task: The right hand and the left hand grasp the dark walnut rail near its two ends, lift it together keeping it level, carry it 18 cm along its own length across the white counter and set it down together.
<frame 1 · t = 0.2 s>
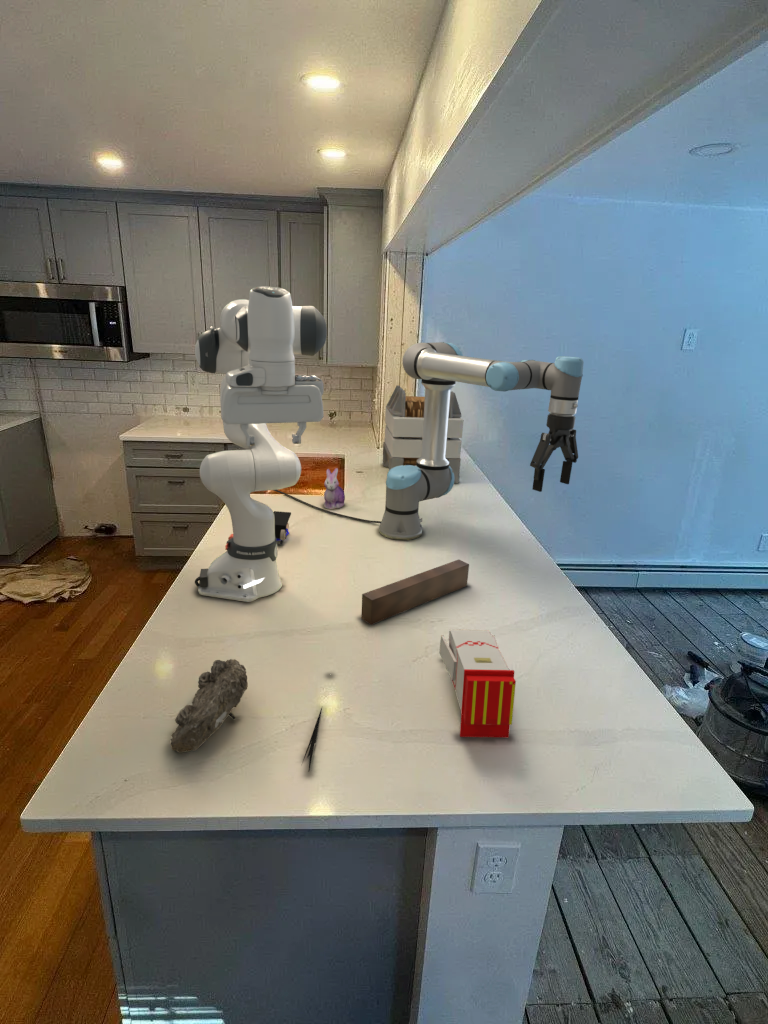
left hand: (273, 444, 116), 48 cm above the counter, fingers open, 8 cm apart
right hand: (551, 486, 165), 28 cm above the counter, fingers open, 13 cm apart
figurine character: (279, 538, 191), on the counter
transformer: (418, 473, 275), on the counter
figurine: (334, 505, 225), on the counter
toy: (471, 691, 119), on the counter
walnut rail: (417, 601, 154), on the counter
fossil: (215, 716, 108), on the counter
feather: (319, 719, 109), on the counter
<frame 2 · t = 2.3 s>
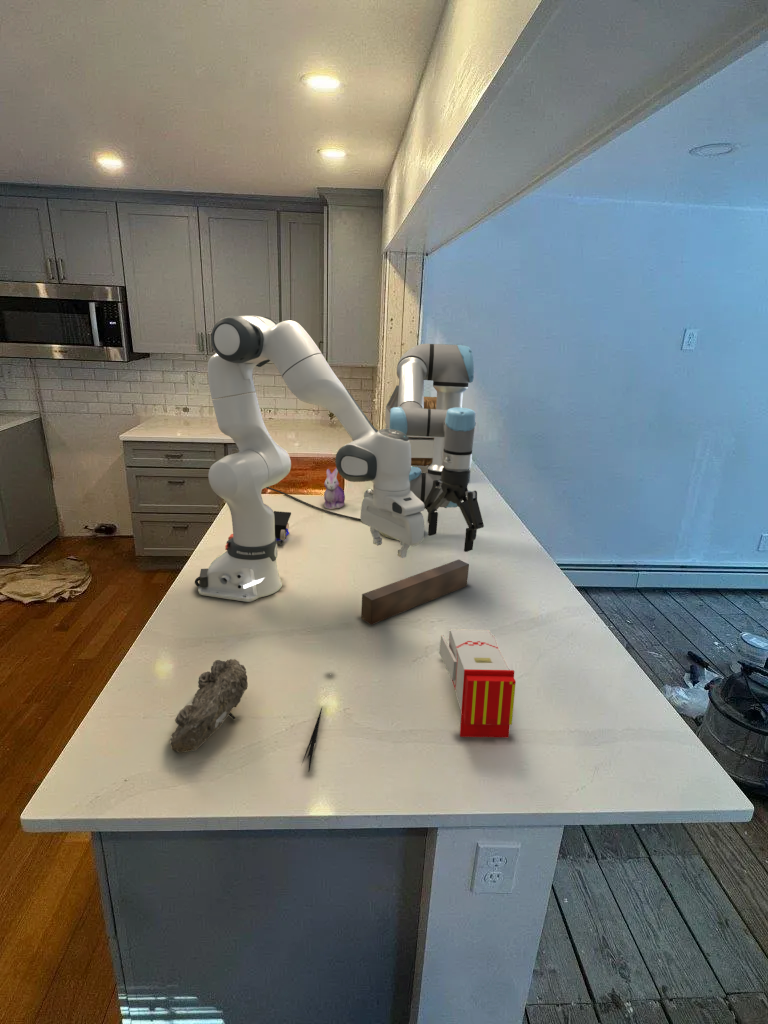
left hand: (389, 550, 141), 18 cm above the counter, fingers open, 8 cm apart
right hand: (449, 542, 156), 15 cm above the counter, fingers open, 13 cm apart
nothing on the counter moved.
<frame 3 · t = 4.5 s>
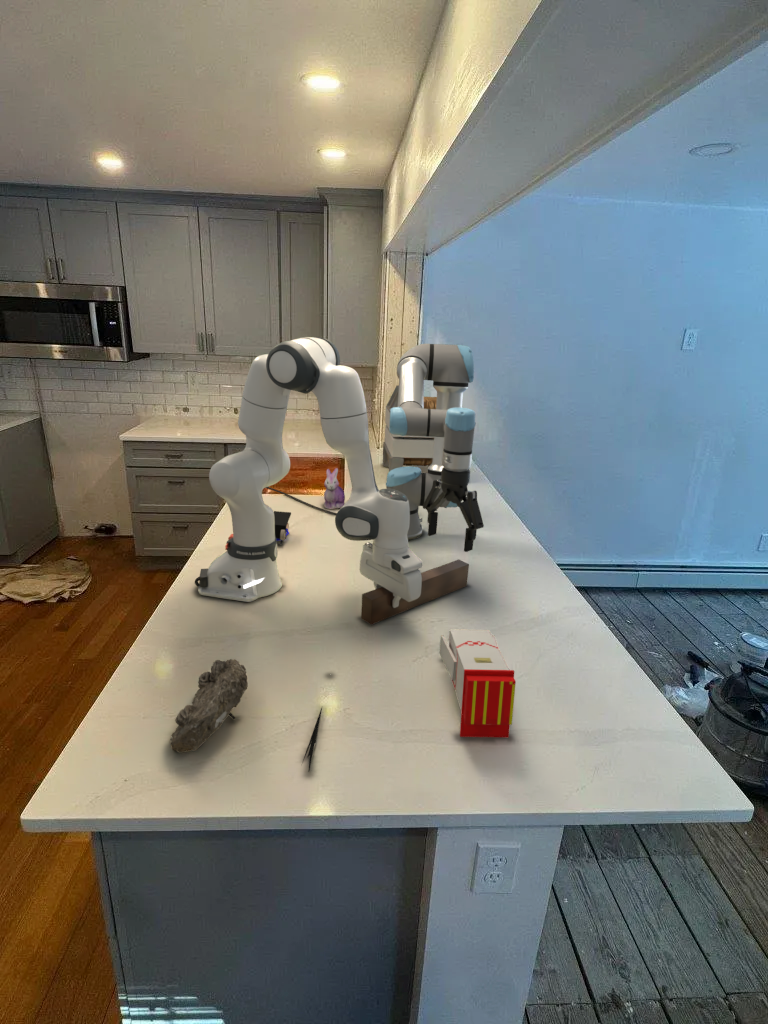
left hand: (387, 602, 146), 3 cm above the counter, fingers closed on walnut rail, 4 cm apart
right hand: (449, 542, 156), 15 cm above the counter, fingers open, 13 cm apart
walnut rail: (417, 601, 154), on the counter, touching left hand
everything else where it was.
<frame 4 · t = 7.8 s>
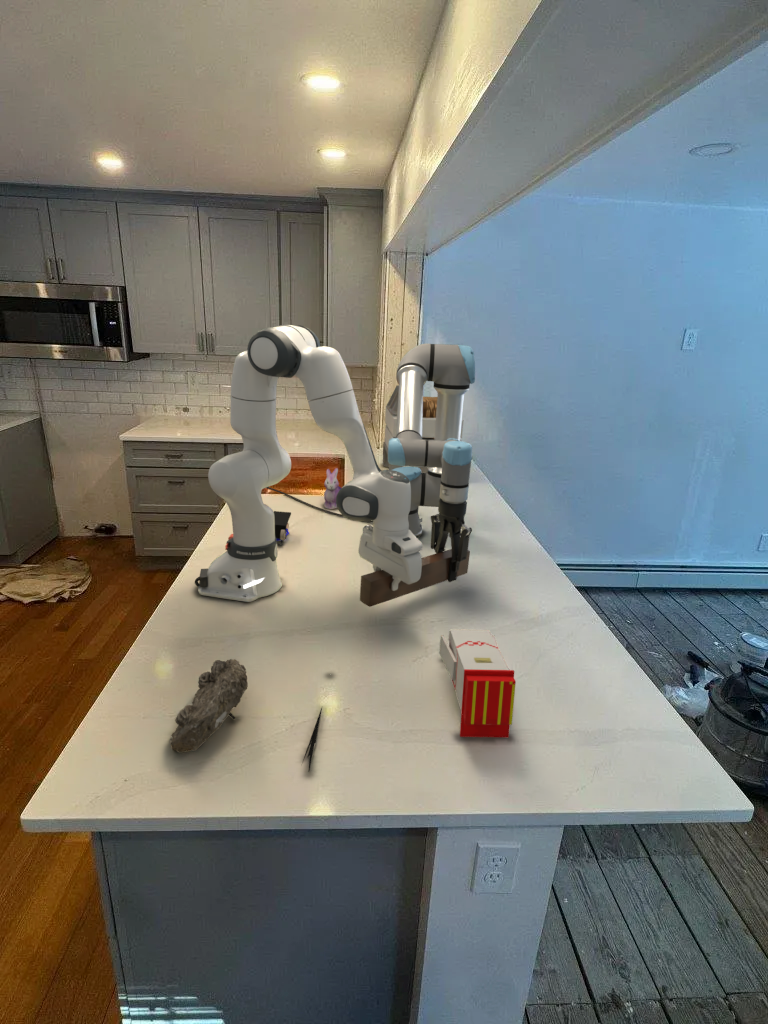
left hand: (386, 585, 145), 8 cm above the counter, fingers closed on walnut rail, 4 cm apart
right hand: (445, 577, 160), 4 cm above the counter, fingers closed on walnut rail, 4 cm apart
walnut rail: (416, 586, 153), point 4 cm above the counter, touching right hand, left hand
everything else where it was.
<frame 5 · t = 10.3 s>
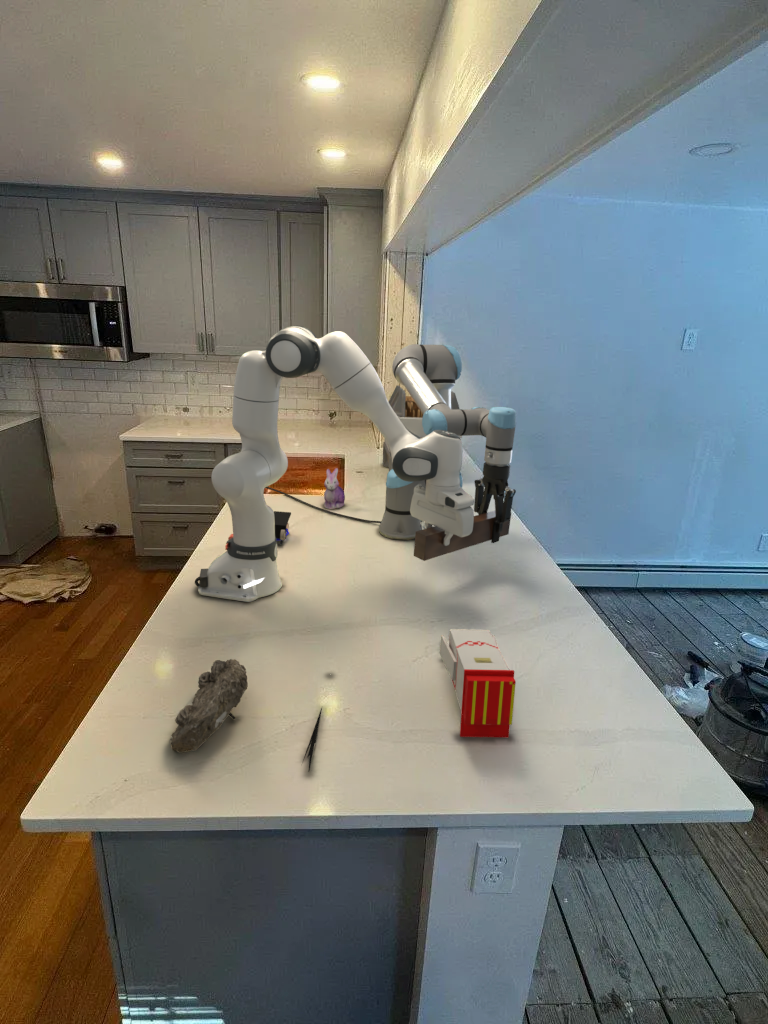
left hand: (438, 541, 153), 16 cm above the counter, fingers closed on walnut rail, 4 cm apart
right hand: (488, 539, 168), 12 cm above the counter, fingers closed on walnut rail, 4 cm apart
walnut rail: (463, 544, 161), point 13 cm above the counter, touching right hand, left hand
everything else where it was.
when the right hand's fingers open (0 cm above the counter, at t = 13.0 s): walnut rail stays where it is, on the counter.
when the left hand's fingers open (4 cm above the counter, at t = 13.1 s): walnut rail stays where it is, on the counter.
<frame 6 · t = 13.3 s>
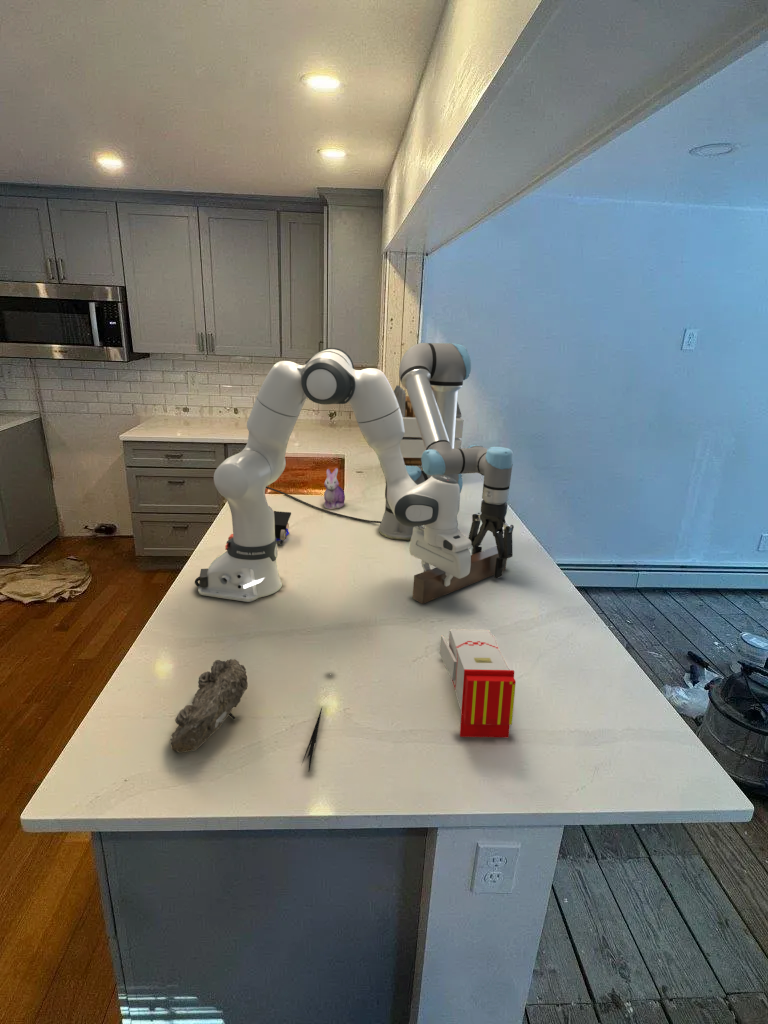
left hand: (436, 580, 157), 4 cm above the counter, fingers open, 6 cm apart
right hand: (486, 571, 172), 1 cm above the counter, fingers open, 8 cm apart
walnut rail: (461, 583, 166), on the counter
everything else where it was.
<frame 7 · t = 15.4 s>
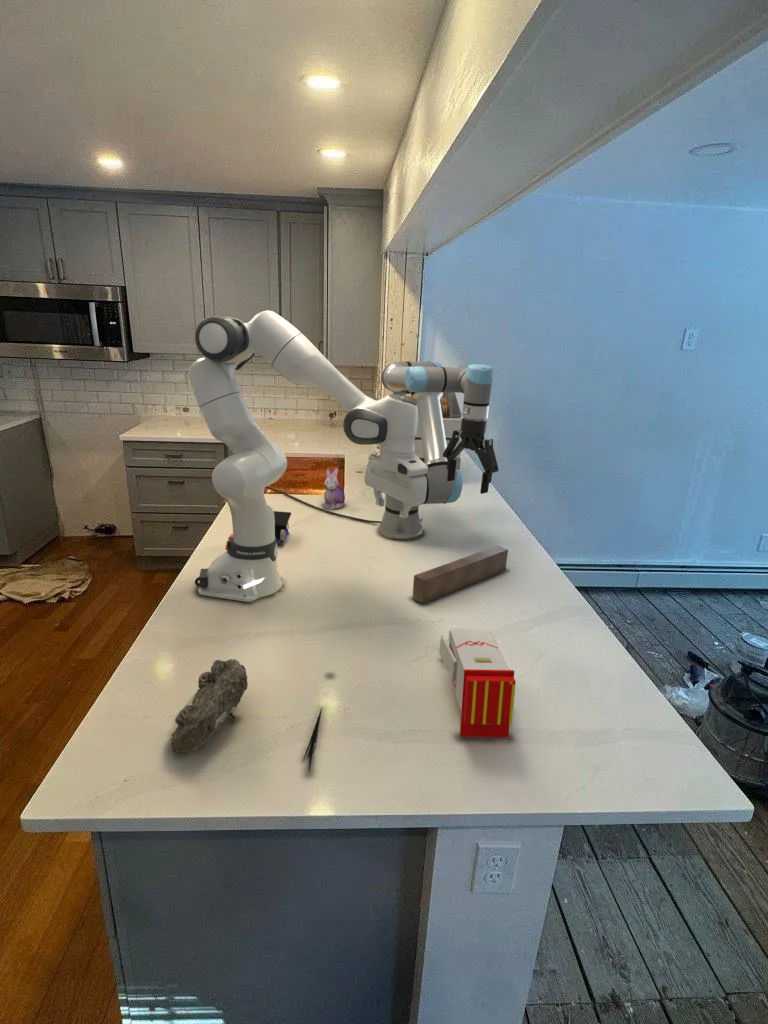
left hand: (391, 511, 148), 25 cm above the counter, fingers open, 8 cm apart
right hand: (466, 486, 176), 24 cm above the counter, fingers open, 13 cm apart
nothing on the counter moved.
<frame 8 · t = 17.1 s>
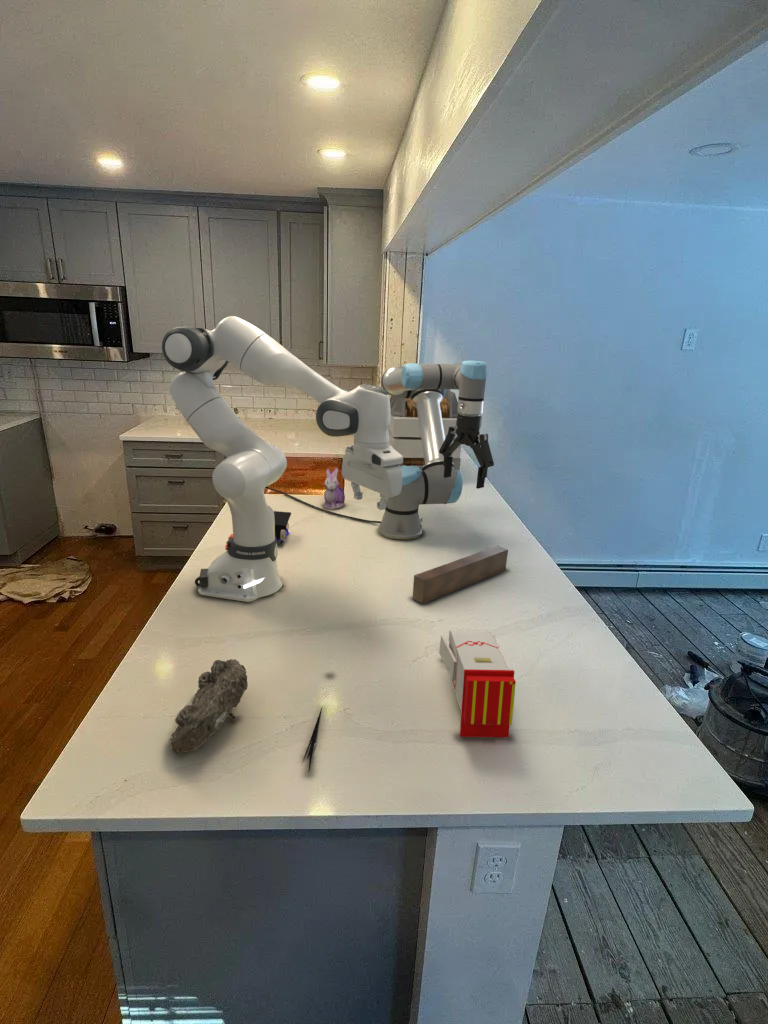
left hand: (369, 503, 146), 27 cm above the counter, fingers open, 8 cm apart
right hand: (463, 482, 177), 25 cm above the counter, fingers open, 13 cm apart
nothing on the counter moved.
at the end: walnut rail inside the target area (0.1 cm from its centre), on the counter; both hands held the walnut rail at the same time; walnut rail never tilted more than 2° during the clip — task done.
